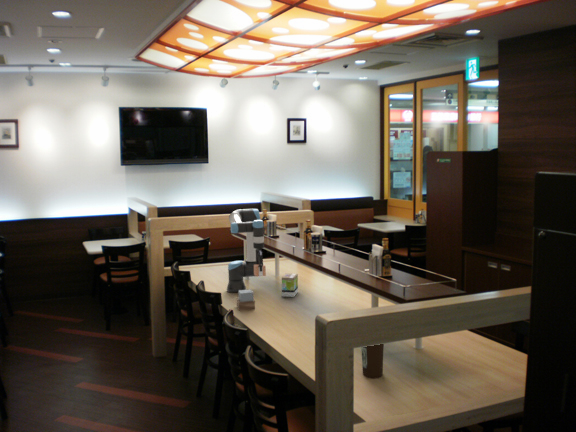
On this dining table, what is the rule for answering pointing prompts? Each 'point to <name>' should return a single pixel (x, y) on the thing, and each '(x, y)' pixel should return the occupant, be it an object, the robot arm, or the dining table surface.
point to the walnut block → (245, 305)
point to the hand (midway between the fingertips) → (259, 274)
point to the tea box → (289, 285)
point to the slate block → (245, 295)
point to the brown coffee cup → (372, 361)
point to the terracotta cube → (256, 270)
